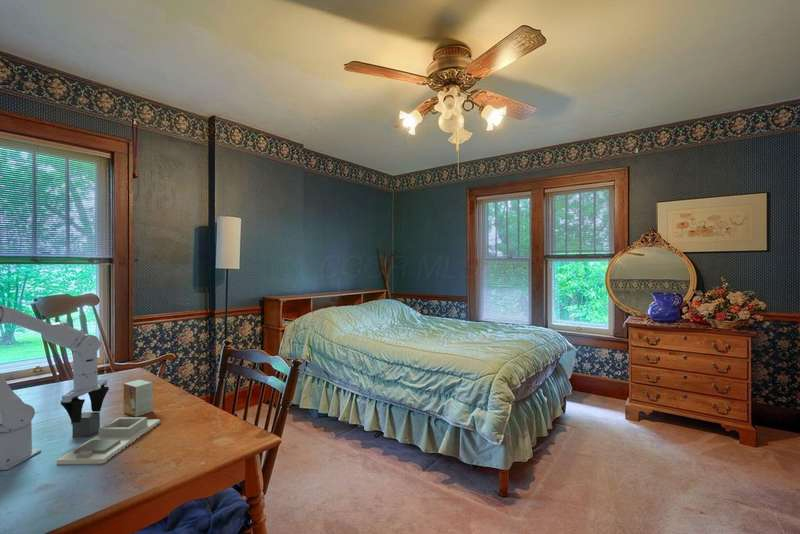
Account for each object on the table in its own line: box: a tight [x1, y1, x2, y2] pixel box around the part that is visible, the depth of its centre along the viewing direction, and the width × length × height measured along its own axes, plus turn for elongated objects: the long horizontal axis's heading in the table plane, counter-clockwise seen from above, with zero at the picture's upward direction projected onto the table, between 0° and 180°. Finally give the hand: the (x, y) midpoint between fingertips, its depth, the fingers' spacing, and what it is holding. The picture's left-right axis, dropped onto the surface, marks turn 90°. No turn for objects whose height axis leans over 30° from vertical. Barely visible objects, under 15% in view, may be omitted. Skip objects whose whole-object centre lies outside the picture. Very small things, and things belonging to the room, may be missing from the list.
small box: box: [123, 379, 154, 417], centre depth 128 cm, size 8×6×10 cm
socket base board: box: [56, 416, 161, 465], centre depth 108 cm, size 24×12×4 cm, turn 2°
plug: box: [70, 411, 101, 438], centre depth 112 cm, size 4×6×6 cm, turn 92°
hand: (86, 416), depth 112 cm, fingers open, 7 cm apart
